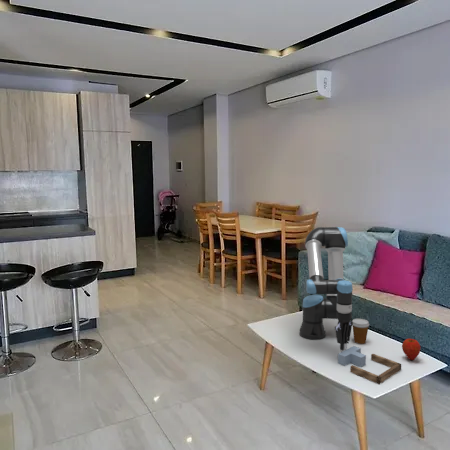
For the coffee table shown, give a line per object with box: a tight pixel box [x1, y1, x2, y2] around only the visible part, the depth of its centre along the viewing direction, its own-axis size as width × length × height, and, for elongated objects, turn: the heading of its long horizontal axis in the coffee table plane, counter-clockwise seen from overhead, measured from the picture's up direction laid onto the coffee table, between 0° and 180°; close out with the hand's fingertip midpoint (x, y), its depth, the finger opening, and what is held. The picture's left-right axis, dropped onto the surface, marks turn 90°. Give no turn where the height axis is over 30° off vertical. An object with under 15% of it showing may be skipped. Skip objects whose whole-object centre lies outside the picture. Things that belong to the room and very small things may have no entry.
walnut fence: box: [350, 353, 402, 385], centre depth 193 cm, size 15×20×3 cm
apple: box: [401, 338, 422, 361], centre depth 203 cm, size 9×8×11 cm
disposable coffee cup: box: [351, 318, 370, 345], centre depth 225 cm, size 10×10×12 cm
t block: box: [337, 345, 367, 368], centre depth 202 cm, size 10×14×5 cm
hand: (343, 355), depth 207 cm, fingers closed
